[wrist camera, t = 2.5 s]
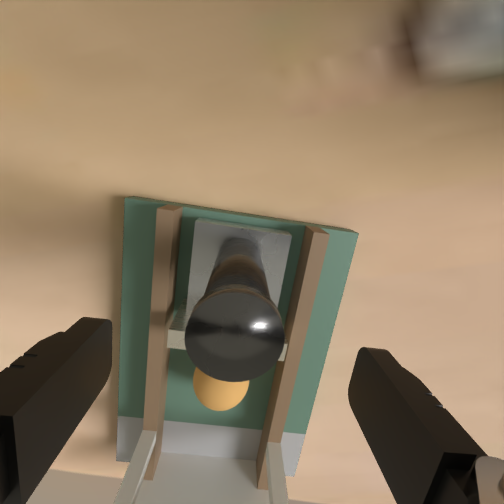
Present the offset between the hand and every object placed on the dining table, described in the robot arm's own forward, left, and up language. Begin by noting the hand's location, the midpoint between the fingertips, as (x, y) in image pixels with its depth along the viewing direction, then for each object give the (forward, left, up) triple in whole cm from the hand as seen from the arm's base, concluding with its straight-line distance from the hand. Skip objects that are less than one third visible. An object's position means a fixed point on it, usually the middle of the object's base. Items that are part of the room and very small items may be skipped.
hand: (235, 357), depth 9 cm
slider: (+1, 0, -11) cm, 11 cm away
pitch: (+8, 0, -12) cm, 15 cm away
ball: (+8, 0, -9) cm, 12 cm away
